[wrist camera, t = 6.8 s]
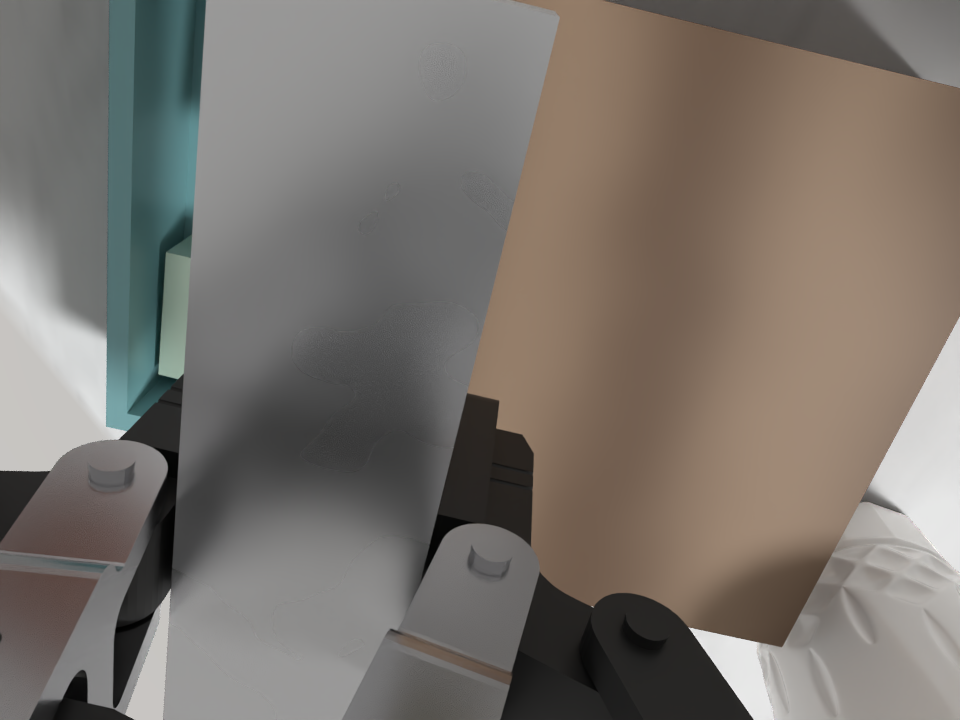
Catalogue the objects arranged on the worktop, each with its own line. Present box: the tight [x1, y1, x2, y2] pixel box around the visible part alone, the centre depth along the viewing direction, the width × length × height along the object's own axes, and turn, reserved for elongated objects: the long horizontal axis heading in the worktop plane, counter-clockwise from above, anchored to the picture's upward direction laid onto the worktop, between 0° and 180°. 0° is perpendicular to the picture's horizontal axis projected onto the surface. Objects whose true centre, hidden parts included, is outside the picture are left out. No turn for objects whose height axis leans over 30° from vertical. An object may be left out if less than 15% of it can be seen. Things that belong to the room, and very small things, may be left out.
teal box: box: [106, 0, 206, 431], centre depth 22 cm, size 8×13×4 cm, turn 167°
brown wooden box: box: [467, 0, 960, 647], centre depth 21 cm, size 12×15×6 cm
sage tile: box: [158, 235, 192, 379], centre depth 23 cm, size 4×4×2 cm
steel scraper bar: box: [163, 0, 560, 720], centre depth 12 cm, size 3×14×5 cm, turn 167°
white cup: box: [757, 502, 960, 720], centre depth 24 cm, size 8×8×10 cm
